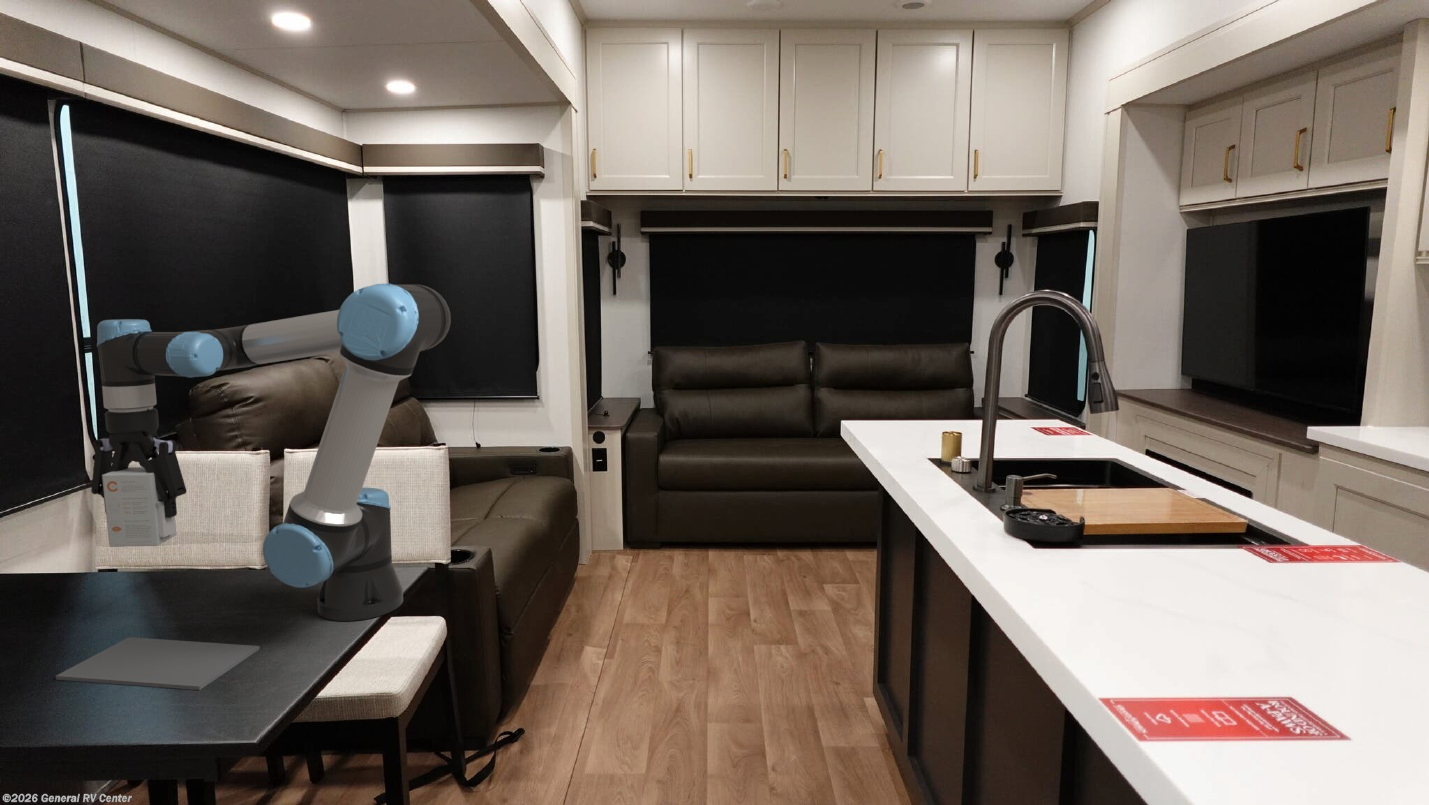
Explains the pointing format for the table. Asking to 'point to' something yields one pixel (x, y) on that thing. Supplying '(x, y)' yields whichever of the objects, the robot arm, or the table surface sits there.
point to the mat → (160, 663)
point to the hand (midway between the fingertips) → (143, 533)
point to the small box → (132, 508)
